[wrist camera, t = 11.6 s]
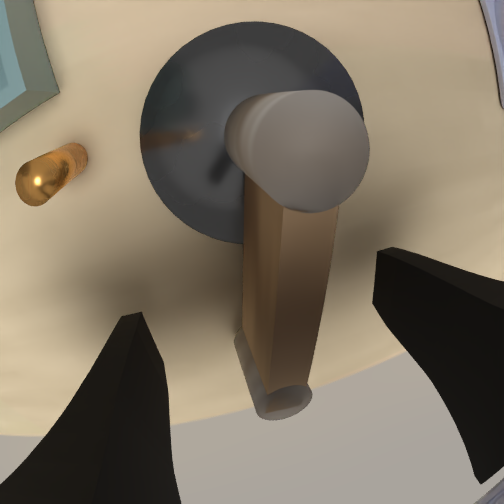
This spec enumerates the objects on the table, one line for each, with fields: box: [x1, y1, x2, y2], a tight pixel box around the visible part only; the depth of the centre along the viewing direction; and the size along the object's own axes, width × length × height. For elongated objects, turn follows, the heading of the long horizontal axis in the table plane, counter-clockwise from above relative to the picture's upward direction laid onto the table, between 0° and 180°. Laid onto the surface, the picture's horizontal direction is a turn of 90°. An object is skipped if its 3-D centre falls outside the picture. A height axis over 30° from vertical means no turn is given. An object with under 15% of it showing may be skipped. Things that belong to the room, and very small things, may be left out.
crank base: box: [15, 22, 364, 244], centre depth 8 cm, size 10×7×3 cm
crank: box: [224, 90, 370, 420], centre depth 8 cm, size 9×2×3 cm, turn 178°
